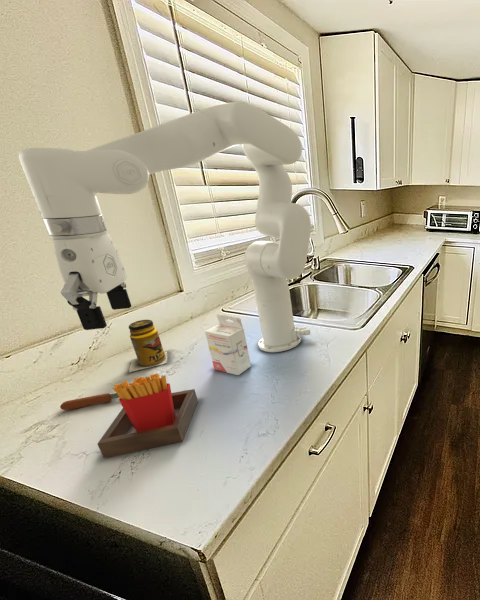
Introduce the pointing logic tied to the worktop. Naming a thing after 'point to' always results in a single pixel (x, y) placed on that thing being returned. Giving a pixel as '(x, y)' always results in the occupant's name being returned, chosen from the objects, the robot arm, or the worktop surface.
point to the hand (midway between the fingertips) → (110, 317)
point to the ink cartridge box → (228, 345)
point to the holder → (123, 443)
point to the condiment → (146, 346)
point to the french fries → (147, 402)
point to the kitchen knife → (88, 401)
